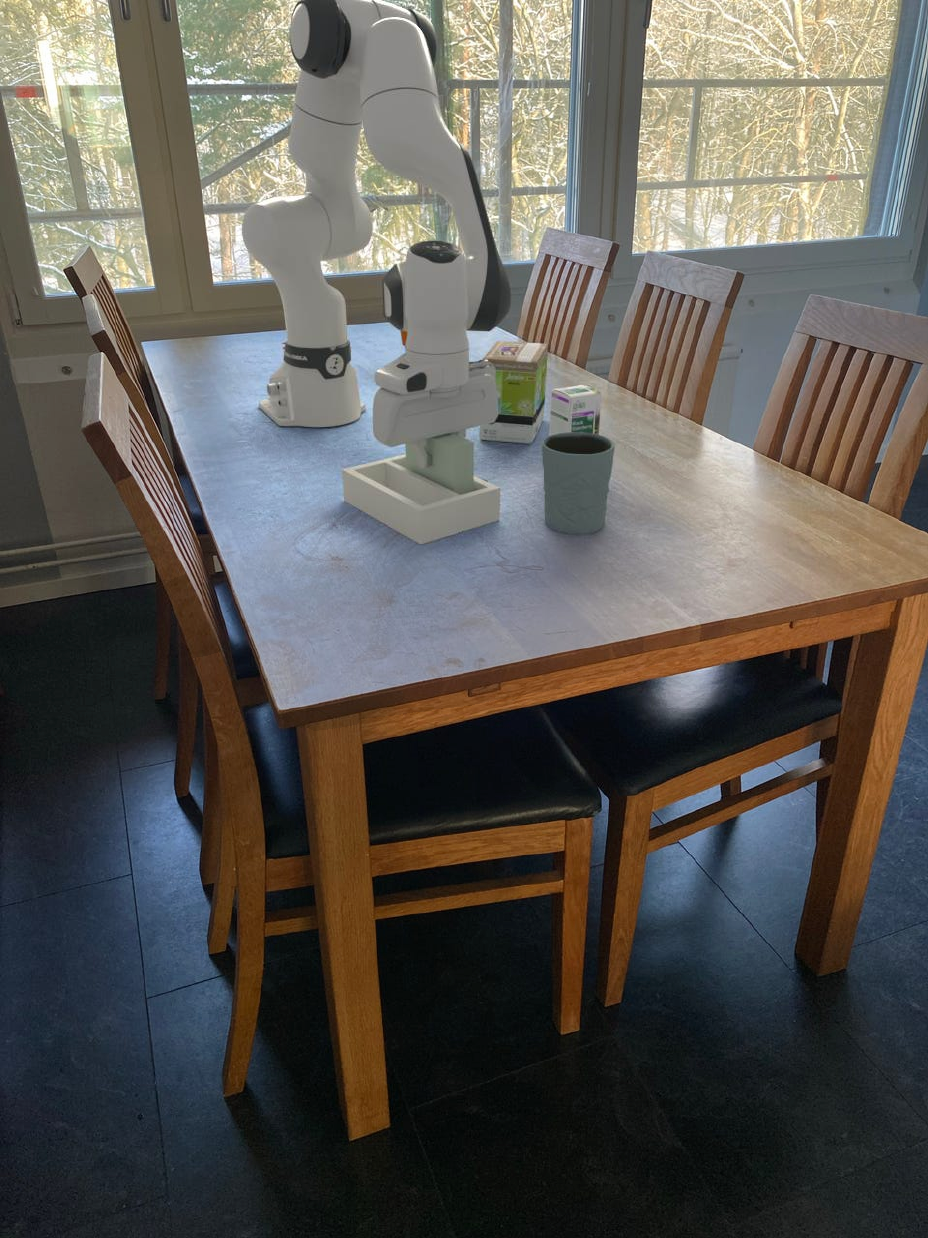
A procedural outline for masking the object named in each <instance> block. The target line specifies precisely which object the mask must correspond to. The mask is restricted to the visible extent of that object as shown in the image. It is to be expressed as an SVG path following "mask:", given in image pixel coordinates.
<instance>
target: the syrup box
mask: <svg viewBox="0 0 928 1238" xmlns="http://www.w3.org/2000/svg"><path fill="white" fill-rule="evenodd" d="M601 404H602V392H600V390H597V389H595V388H593V387H590V386H587V385H584V384H578V385H574V386H568V387H567V386H566V387H561V388H552V389H551V390H550V410H549V434H548V435H549V436H551V435H554V434H559V433H568V432H582V433H591V434H597V435H600V420H601V408H602V407H601V406H602V405H601Z"/></svg>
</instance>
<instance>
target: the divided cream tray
mask: <svg viewBox="0 0 928 1238" xmlns="http://www.w3.org/2000/svg"><path fill="white" fill-rule="evenodd" d="M341 471H342V487H343V489H342V490H343V501H344V503H347V504H349V505H351V506H352V507H355V508H356V509H358V510H360V511H361V512H363V513H364V514H366V515H368V516H370V517H371V518H373V519H375V520H377V521H379V522H380V523H382V524H384V525H385V526H387V527H389V528H391V529H392V530H394V531H396V532H398V533H400V534H402V535H403V536H405V537H407V538H409V539H410V540H411V541H413V542H415V543H417V544H419V545H424V544H428V543H431V542H434V541H438V540H441V539H444V538H447V537H450V536H453V535H456V534H460V533H463V532H466V531H470V530H472V529H476V528H478V527H483V526H485V525H488V524H493V523H496V522H499V521H500V508H501V507H500V506H501V502H500V501H501V487H500V486H497V485H495V484H493V483H490V482H489V481H488V480H487V479H484V478H482V477H480V476H475V475H474V491H473V492H470V493H466V494H463V495H459V494H457V493H455V492H453V491H451V490H449V489H447V488H445V487H443V486H441V485H439V484H437V483H435V482H433V481H430V480H428V479H426V478H424V477H422V476H420V475H418V474H416V473H414V472H412V471H410V470H408V469H406V453H405V454H400V455H396V456H393V457H388V458H384V459H380V460H375V461H371V462H367V463H364V464H359V465H355V466H351V467H346V468H343V469H342V470H341ZM462 531H463V532H462ZM459 532H460V533H459Z"/></svg>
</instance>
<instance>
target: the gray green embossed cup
mask: <svg viewBox="0 0 928 1238" xmlns="http://www.w3.org/2000/svg"><path fill="white" fill-rule="evenodd" d="M615 448H616V443H615V442H614V441H613V440H611V439H610V438H609V437H608V436H607V437H606V436H604V435H600V434H599V435H597V434H591V433H582V432H568V433H559V434H554V435H551V436H547V437H544V439H543V440H542V441H541V454H542V455H541V456H542V457H541V458H542V468H543V491H544V495H543V496H544V523H545V525H546V527H547V528H549V529H550V530H552V531H554V532H556V531H559V532H558V533H560V532H562V533H561V534H565V533H567V534H566V535H574V534H584V535H590V534H589V533H591V534H593V533H594V534H595V533H597V532H599V531H600V530H602V529H603V527H604V526H605V521H606V515H607V501H608V495H609V491H610V490H609V489H610V487H609V484H610V479H611V476H612V470H613V462H614V456H615Z"/></svg>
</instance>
